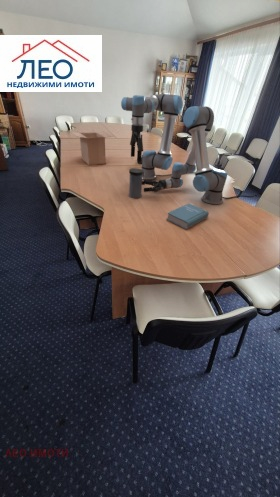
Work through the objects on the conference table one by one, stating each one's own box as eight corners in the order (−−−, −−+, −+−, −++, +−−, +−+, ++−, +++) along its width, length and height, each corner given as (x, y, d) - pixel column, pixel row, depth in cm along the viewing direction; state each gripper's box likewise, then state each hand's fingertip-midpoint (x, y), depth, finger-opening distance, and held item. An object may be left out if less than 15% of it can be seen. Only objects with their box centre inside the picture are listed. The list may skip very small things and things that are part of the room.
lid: (129, 175, 155) (129, 172, 154) (128, 170, 163) (128, 167, 162) (143, 175, 156) (143, 172, 155) (142, 171, 164) (142, 168, 163)
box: (116, 165, 229) (116, 136, 213) (83, 168, 214) (80, 137, 198) (102, 154, 259) (101, 128, 243) (71, 156, 244) (68, 129, 228)
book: (187, 209, 155) (188, 203, 152) (207, 218, 146) (209, 211, 143) (166, 219, 142) (167, 212, 139) (187, 230, 133) (188, 222, 130)
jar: (129, 198, 166) (130, 172, 154) (128, 193, 173) (129, 168, 162) (141, 198, 166) (143, 173, 155) (140, 193, 174) (142, 169, 163)
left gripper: (126, 121, 150) (125, 154, 162) (138, 127, 131) (136, 164, 144) (136, 121, 152) (135, 154, 164) (150, 127, 133) (147, 164, 146)
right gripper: (171, 194, 170) (146, 197, 162) (157, 183, 188) (134, 185, 180) (173, 185, 165) (147, 187, 158) (157, 174, 183) (134, 176, 176)
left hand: (135, 159), depth 154 cm, fingers open, 13 cm apart
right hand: (140, 186), depth 169 cm, fingers open, 13 cm apart
